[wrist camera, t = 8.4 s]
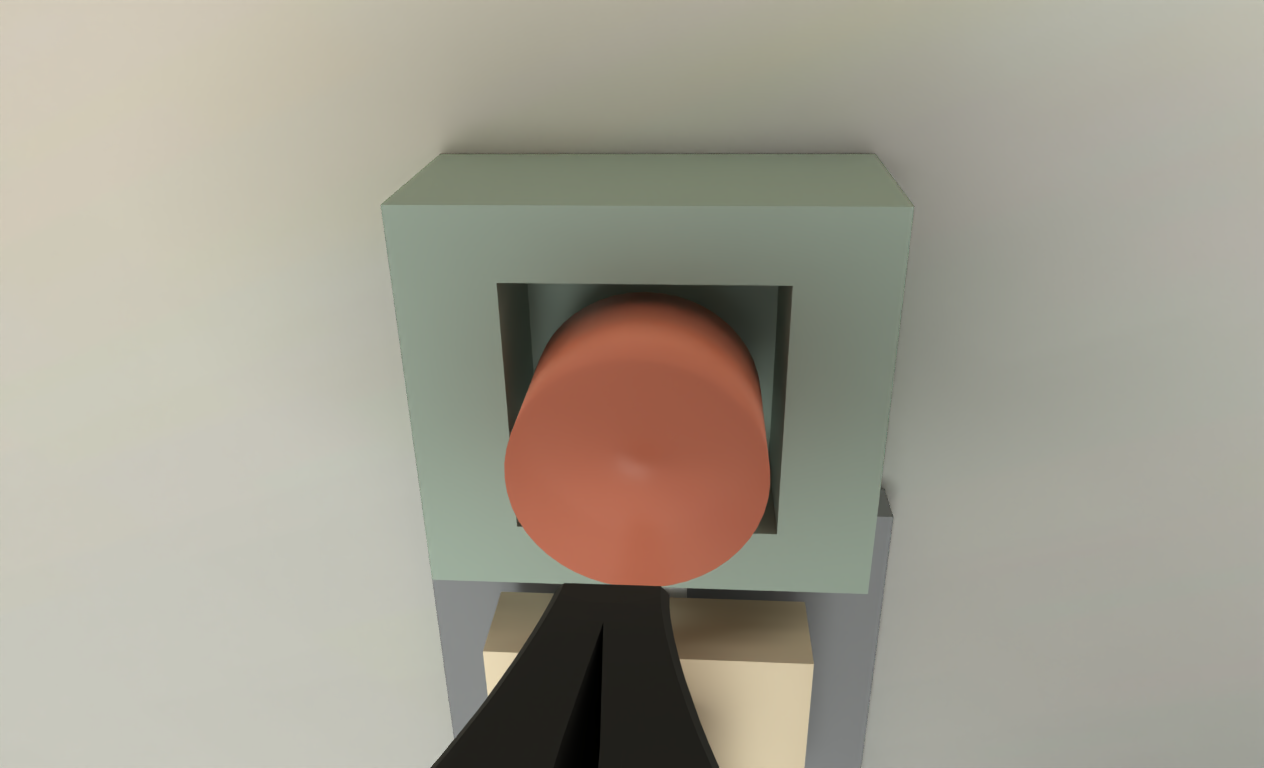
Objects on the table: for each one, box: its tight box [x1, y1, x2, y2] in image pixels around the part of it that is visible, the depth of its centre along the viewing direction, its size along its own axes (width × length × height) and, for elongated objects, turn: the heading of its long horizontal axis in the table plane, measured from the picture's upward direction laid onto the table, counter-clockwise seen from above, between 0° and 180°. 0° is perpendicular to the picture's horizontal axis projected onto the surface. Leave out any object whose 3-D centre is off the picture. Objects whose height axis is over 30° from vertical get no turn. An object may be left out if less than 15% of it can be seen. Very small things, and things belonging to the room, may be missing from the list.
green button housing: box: [381, 154, 914, 594], centre depth 19 cm, size 9×8×4 cm
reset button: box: [504, 292, 770, 586], centre depth 17 cm, size 4×4×3 cm
